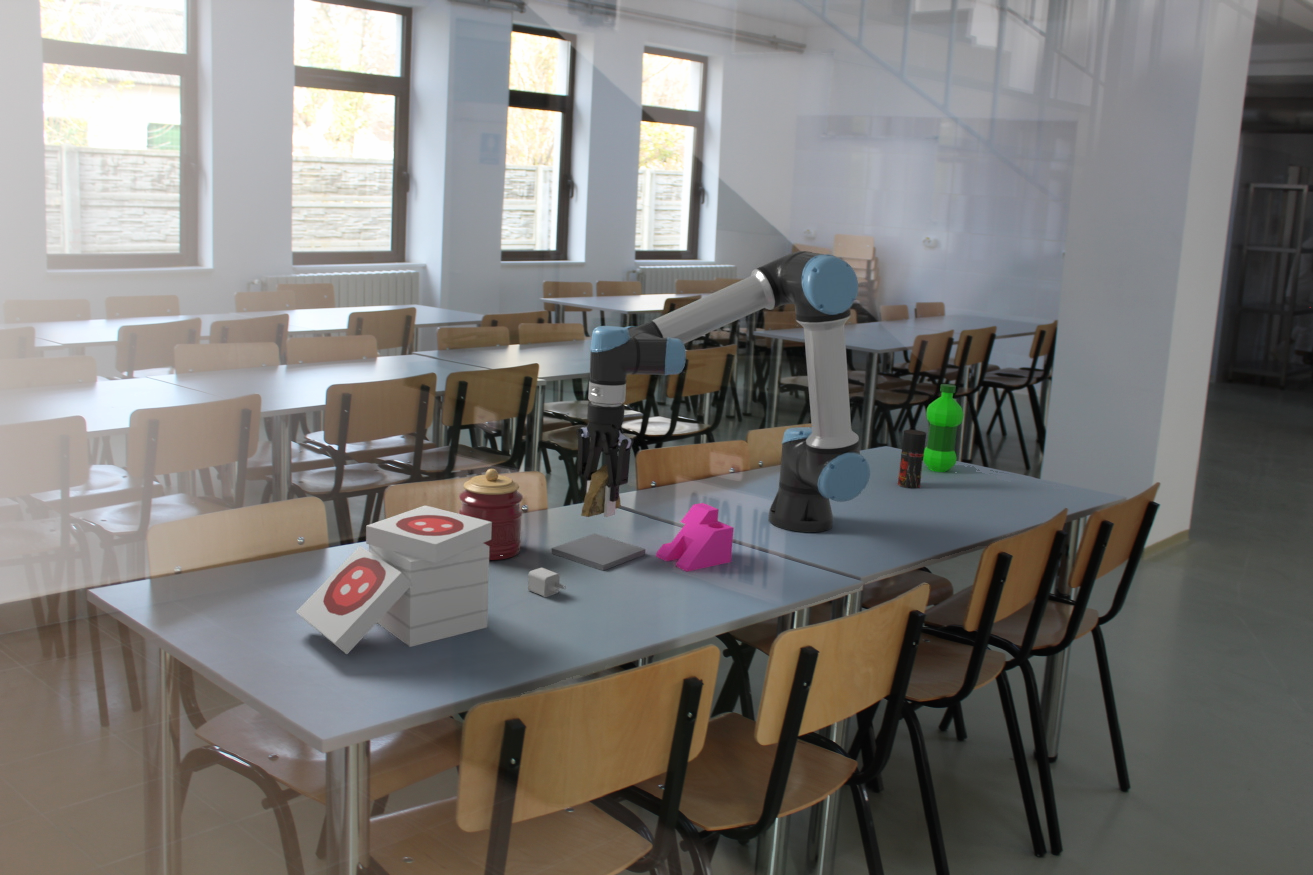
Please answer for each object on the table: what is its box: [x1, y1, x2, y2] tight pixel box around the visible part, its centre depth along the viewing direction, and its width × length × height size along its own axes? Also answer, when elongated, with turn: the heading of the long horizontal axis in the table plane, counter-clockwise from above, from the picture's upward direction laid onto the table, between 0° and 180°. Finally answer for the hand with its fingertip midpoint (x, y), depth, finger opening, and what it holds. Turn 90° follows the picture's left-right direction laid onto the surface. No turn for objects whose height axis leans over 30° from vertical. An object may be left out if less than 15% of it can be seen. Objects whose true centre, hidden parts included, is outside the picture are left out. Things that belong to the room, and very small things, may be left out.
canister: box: [458, 468, 524, 561], centre depth 224 cm, size 13×13×18 cm
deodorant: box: [897, 429, 927, 490], centre depth 296 cm, size 6×6×15 cm
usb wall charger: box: [527, 567, 567, 598], centre depth 205 cm, size 4×7×4 cm, turn 50°
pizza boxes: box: [295, 505, 492, 655], centre depth 183 cm, size 19×30×18 cm, turn 131°
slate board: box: [550, 533, 646, 571], centre depth 228 cm, size 14×14×1 cm
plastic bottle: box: [923, 383, 964, 473], centre depth 314 cm, size 10×10×25 cm
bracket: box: [655, 502, 734, 572], centre depth 228 cm, size 12×10×10 cm
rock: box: [580, 464, 622, 518], centre depth 226 cm, size 11×9×10 cm
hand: (600, 512), depth 226 cm, fingers closed on rock, 4 cm apart
